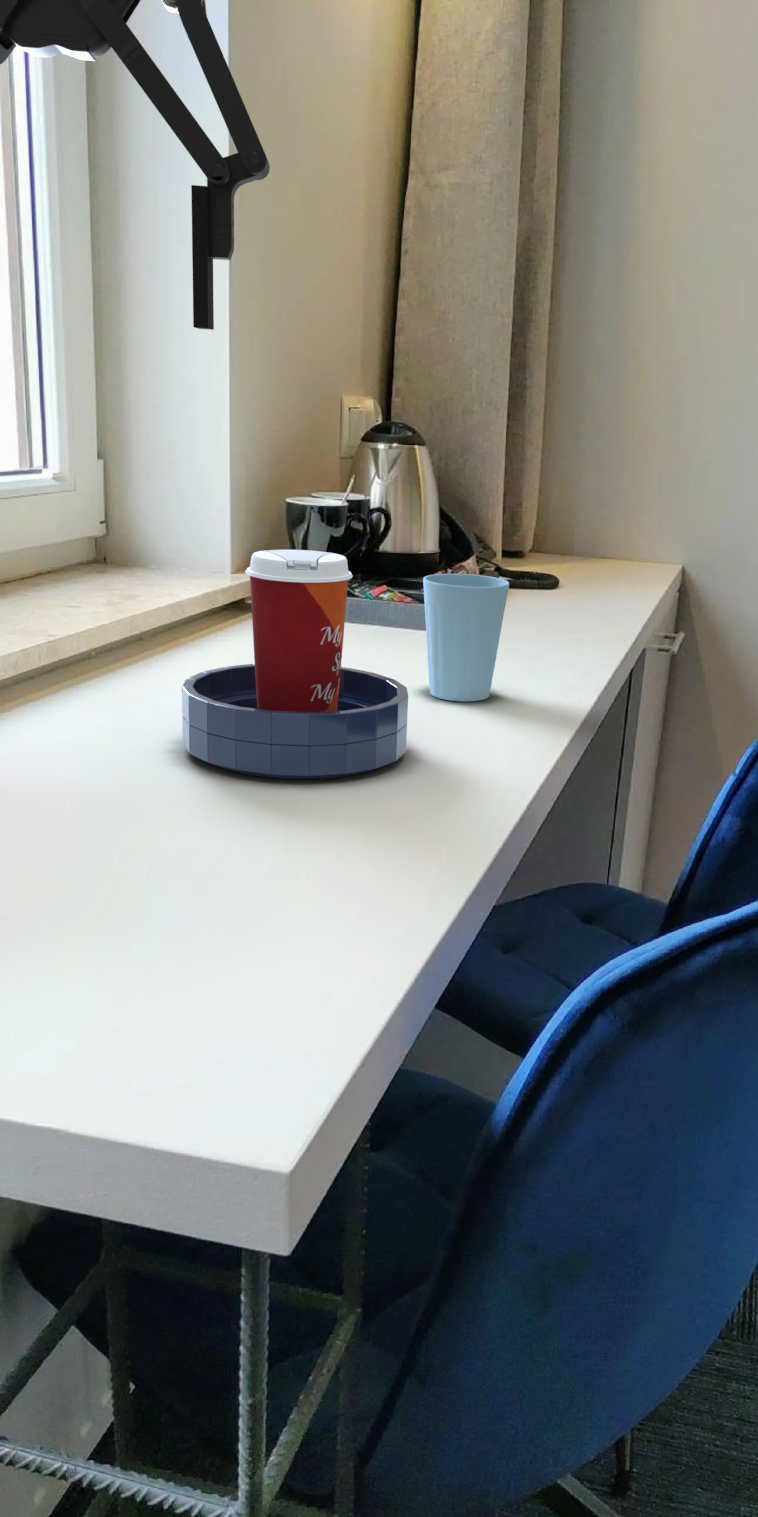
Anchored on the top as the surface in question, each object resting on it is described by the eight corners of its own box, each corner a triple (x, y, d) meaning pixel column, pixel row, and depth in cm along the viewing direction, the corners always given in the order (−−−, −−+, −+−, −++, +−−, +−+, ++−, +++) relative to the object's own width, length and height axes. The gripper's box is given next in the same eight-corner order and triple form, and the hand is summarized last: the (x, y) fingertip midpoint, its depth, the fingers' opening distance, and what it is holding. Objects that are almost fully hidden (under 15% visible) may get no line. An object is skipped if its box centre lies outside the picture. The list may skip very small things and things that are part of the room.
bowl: (170, 779, 90) (168, 709, 88) (197, 720, 105) (197, 659, 103) (408, 787, 91) (411, 718, 89) (401, 727, 106) (404, 667, 104)
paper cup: (352, 758, 95) (358, 564, 90) (246, 758, 93) (246, 560, 88) (342, 731, 102) (347, 549, 97) (244, 730, 101) (244, 546, 96)
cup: (416, 702, 115) (423, 583, 111) (417, 683, 122) (423, 571, 118) (502, 707, 115) (511, 588, 111) (497, 687, 122) (506, 576, 118)
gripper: (-268, -241, 55) (-205, 302, 63) (317, -189, 57) (309, 332, 65) (-198, -172, 62) (-149, 309, 70) (322, -128, 64) (314, 336, 72)
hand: (71, 321), depth 67 cm, fingers open, 13 cm apart
